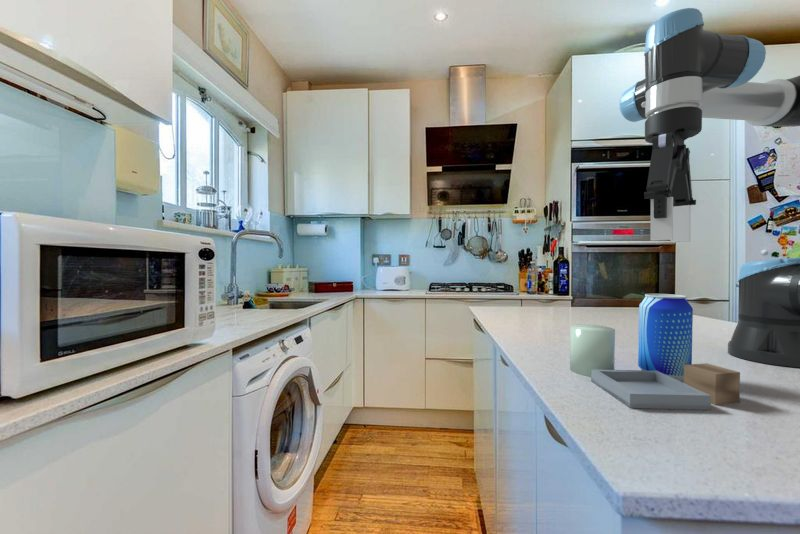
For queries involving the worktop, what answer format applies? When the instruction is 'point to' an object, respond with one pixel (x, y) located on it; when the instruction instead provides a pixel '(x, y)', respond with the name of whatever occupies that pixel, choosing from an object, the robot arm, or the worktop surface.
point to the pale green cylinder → (591, 348)
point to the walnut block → (714, 382)
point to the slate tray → (650, 390)
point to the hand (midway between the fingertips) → (671, 241)
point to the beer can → (665, 334)
